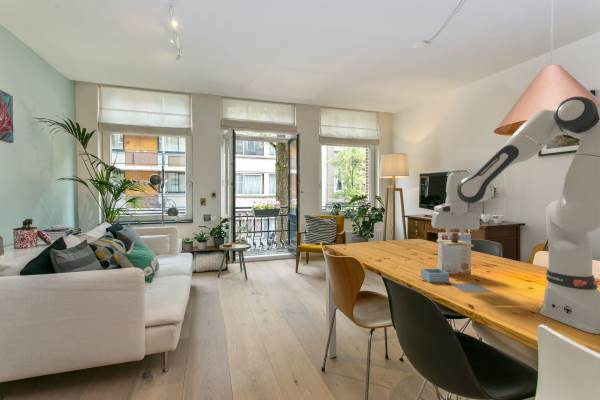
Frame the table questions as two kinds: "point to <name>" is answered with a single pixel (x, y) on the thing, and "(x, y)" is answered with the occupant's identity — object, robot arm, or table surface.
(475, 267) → the table surface
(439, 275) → the blue square tray
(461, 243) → the lid
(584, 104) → the robot arm
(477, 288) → the mat
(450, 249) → the cracker box
